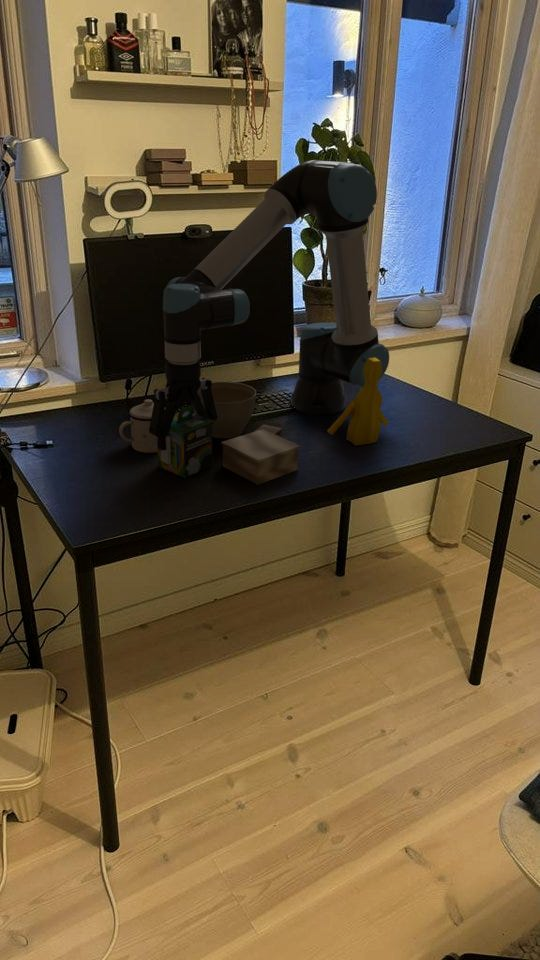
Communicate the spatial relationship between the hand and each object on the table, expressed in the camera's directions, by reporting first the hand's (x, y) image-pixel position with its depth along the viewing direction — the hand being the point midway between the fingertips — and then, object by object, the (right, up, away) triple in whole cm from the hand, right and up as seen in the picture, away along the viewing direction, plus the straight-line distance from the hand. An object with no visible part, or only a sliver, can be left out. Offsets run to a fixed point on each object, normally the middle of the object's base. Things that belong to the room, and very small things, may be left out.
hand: (184, 456), depth 164 cm
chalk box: (0, -3, +1) cm, 3 cm away
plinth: (+17, -3, +2) cm, 17 cm away
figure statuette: (+42, +4, +18) cm, 46 cm away
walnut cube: (+19, +2, +12) cm, 22 cm away
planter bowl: (+7, +7, +21) cm, 23 cm away
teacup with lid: (-11, +2, +10) cm, 15 cm away
